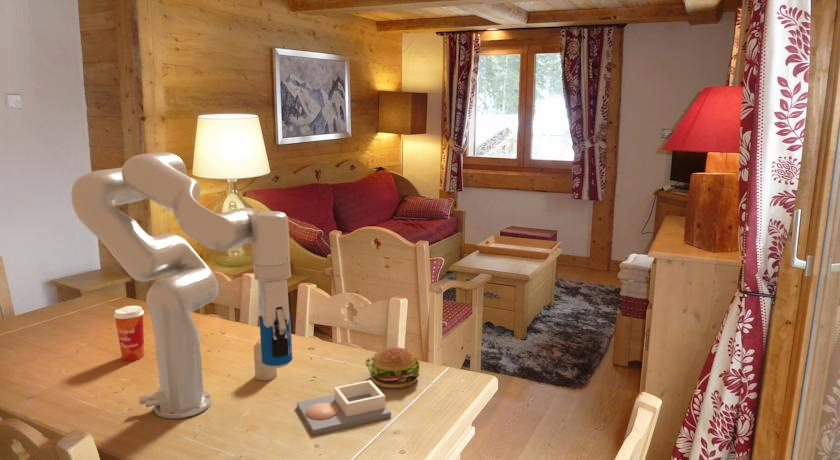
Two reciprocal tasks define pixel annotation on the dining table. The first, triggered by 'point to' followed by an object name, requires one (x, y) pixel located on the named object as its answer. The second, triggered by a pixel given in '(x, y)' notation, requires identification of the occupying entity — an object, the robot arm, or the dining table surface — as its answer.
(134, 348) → the paper cup
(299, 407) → the board
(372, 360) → the food
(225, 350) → the dining table surface
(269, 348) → the beverage can
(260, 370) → the candle
